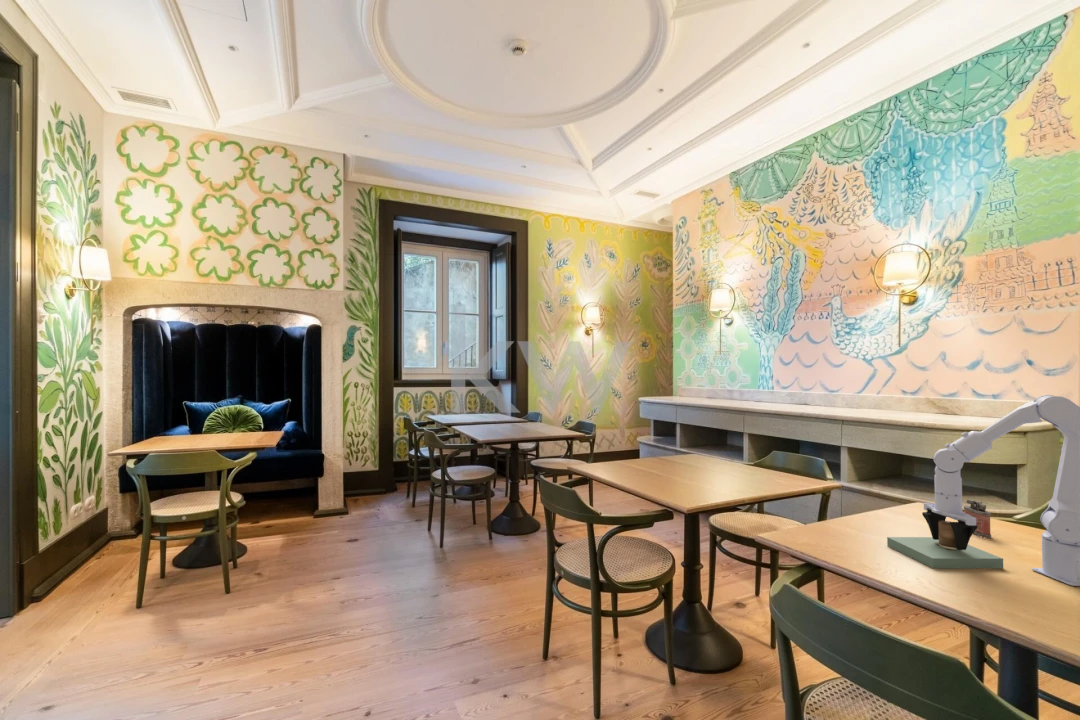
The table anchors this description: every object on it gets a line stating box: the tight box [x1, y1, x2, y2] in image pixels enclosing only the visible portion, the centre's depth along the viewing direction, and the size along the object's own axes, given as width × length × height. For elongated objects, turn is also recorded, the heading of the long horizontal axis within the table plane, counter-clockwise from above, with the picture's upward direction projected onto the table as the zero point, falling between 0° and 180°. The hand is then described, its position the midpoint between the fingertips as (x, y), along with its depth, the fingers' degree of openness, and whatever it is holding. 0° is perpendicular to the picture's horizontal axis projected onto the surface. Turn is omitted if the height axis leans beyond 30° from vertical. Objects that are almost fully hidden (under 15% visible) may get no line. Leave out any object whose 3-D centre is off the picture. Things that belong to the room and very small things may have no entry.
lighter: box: [963, 498, 992, 539], centre depth 151 cm, size 8×3×10 cm, turn 179°
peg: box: [938, 520, 958, 550], centre depth 131 cm, size 4×4×9 cm
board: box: [886, 536, 1004, 570], centre depth 131 cm, size 16×18×2 cm
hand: (949, 544), depth 131 cm, fingers open, 7 cm apart
